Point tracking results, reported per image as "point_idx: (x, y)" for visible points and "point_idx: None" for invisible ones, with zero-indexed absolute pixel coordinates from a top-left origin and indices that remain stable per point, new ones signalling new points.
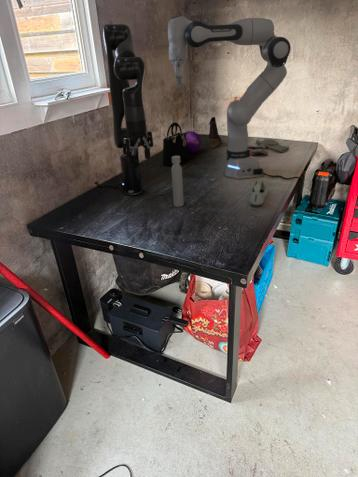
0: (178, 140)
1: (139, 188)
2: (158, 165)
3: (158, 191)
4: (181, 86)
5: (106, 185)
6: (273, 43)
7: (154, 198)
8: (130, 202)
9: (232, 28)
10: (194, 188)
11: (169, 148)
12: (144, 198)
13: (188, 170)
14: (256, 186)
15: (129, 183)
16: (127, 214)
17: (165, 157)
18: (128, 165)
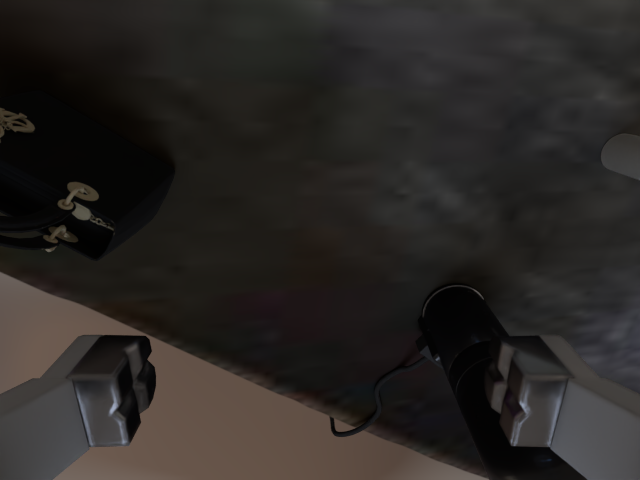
0: (43, 163)
1: (481, 299)
2: (146, 240)
3: (468, 228)
4: (565, 341)
5: (379, 400)
6: None
7: (532, 239)
8: (540, 312)
9: None
10: (476, 81)
11: (139, 211)
12: (520, 272)
13: (231, 98)
14: None
15: None
16: (631, 310)
17: (150, 219)
18: None
